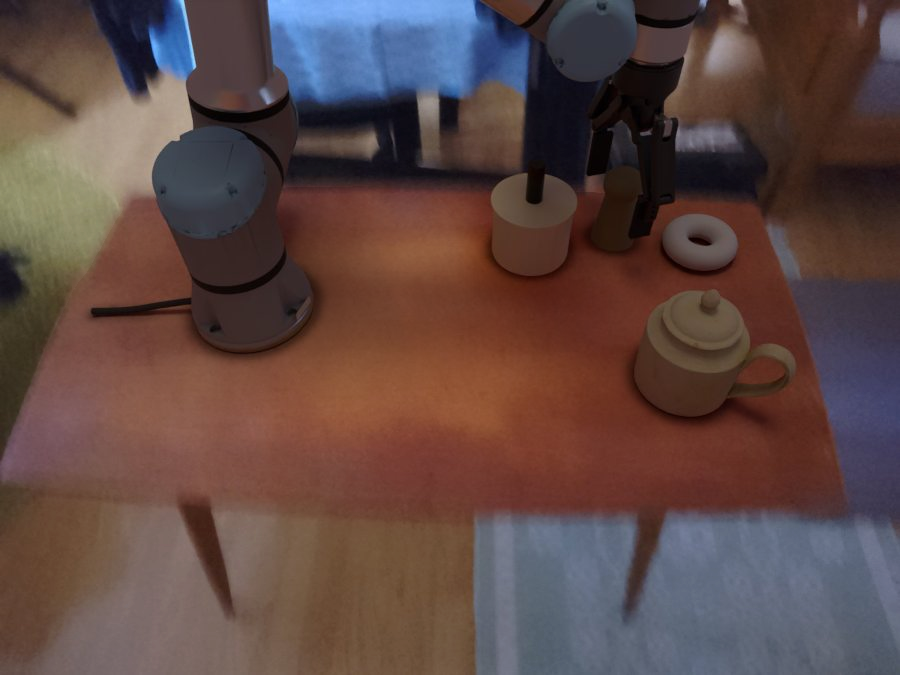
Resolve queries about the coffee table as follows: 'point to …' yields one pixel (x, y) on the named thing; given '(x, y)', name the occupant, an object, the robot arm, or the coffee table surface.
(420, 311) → the coffee table surface
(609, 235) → the brown pawn
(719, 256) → the donut
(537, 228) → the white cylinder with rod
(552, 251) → the pot
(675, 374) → the sugar bowl
